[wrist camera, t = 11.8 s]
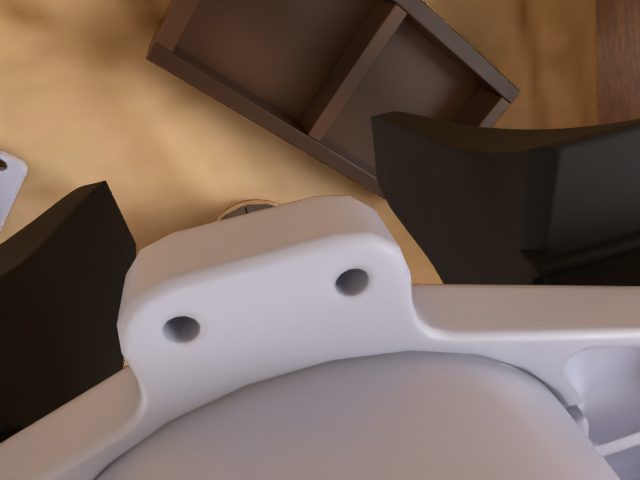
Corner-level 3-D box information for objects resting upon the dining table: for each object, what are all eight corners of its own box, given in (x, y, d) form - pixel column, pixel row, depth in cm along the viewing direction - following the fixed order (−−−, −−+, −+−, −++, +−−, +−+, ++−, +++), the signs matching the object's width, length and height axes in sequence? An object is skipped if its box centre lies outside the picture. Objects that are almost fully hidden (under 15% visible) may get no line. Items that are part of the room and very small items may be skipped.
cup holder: (399, 197, 27) (417, 218, 25) (148, 45, 20) (145, 58, 18) (492, 78, 24) (521, 92, 22) (244, -145, 17) (253, -155, 15)
